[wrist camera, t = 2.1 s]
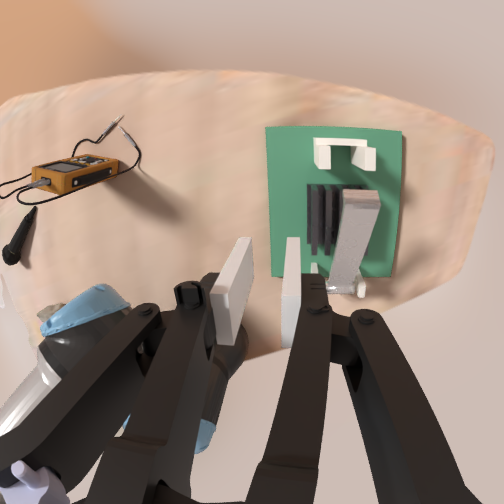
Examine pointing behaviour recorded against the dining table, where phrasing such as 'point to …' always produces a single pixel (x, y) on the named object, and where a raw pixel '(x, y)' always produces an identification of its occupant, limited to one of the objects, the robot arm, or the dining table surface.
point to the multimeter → (72, 173)
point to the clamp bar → (352, 238)
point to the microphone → (17, 240)
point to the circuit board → (332, 172)
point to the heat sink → (326, 214)
